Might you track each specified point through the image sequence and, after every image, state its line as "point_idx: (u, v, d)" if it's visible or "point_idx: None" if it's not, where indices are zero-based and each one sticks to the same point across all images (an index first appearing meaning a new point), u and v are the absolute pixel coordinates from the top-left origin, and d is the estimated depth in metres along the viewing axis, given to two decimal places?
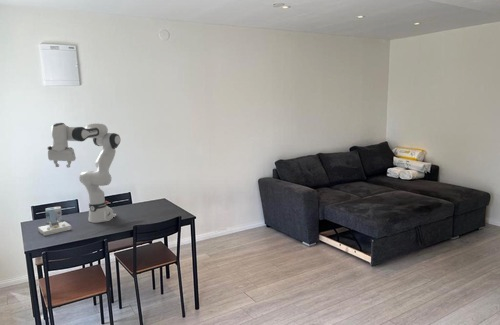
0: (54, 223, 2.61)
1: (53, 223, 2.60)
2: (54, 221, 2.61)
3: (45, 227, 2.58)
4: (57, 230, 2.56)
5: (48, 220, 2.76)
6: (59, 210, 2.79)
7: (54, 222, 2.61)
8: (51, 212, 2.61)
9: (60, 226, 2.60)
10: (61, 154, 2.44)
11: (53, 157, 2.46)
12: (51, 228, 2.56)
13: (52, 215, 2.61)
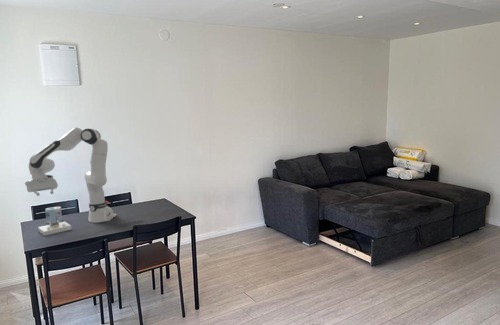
0: (54, 223, 2.61)
1: (53, 223, 2.60)
2: (54, 221, 2.61)
3: (45, 227, 2.58)
4: (57, 230, 2.56)
5: (48, 220, 2.76)
6: (59, 210, 2.79)
7: (54, 222, 2.61)
8: (51, 212, 2.61)
9: (60, 226, 2.60)
10: None
11: None
12: (51, 228, 2.56)
13: (52, 215, 2.61)
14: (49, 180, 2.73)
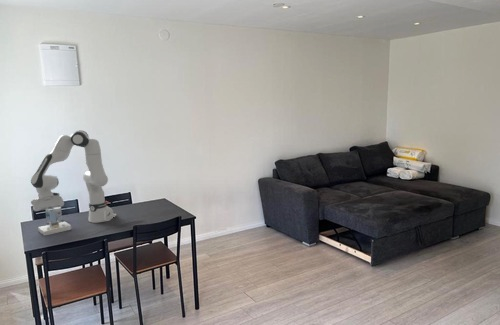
0: (54, 223, 2.61)
1: (53, 223, 2.60)
2: (54, 221, 2.61)
3: (45, 227, 2.58)
4: (57, 230, 2.56)
5: (48, 220, 2.76)
6: (59, 210, 2.79)
7: (54, 222, 2.61)
8: (51, 212, 2.61)
9: (60, 226, 2.60)
10: None
11: None
12: (51, 228, 2.56)
13: (52, 215, 2.61)
14: (56, 198, 2.70)
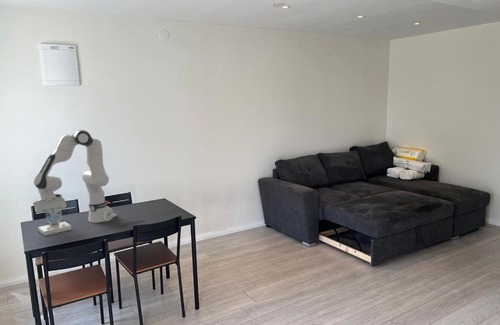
0: (54, 224, 2.61)
1: (53, 224, 2.60)
2: (55, 222, 2.60)
3: (45, 227, 2.58)
4: (57, 230, 2.56)
5: (48, 220, 2.76)
6: (59, 210, 2.79)
7: (54, 223, 2.60)
8: (54, 215, 2.57)
9: (60, 226, 2.60)
10: None
11: None
12: (51, 228, 2.56)
13: (54, 217, 2.58)
14: (58, 199, 2.66)
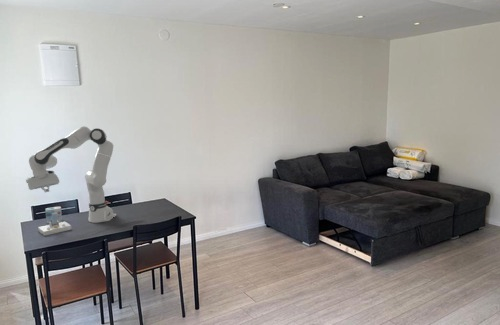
0: (54, 224, 2.61)
1: (53, 224, 2.60)
2: (55, 222, 2.60)
3: (45, 227, 2.58)
4: (57, 230, 2.56)
5: (48, 220, 2.76)
6: (59, 210, 2.79)
7: (54, 223, 2.60)
8: (54, 215, 2.57)
9: (60, 226, 2.60)
10: None
11: None
12: (51, 228, 2.56)
13: (54, 217, 2.58)
14: (51, 176, 2.68)
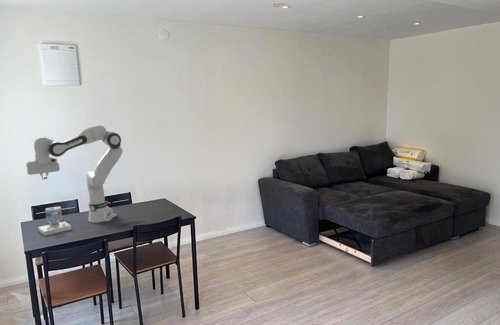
0: (54, 224, 2.61)
1: (53, 224, 2.60)
2: (55, 222, 2.60)
3: (45, 227, 2.58)
4: (57, 230, 2.56)
5: (48, 220, 2.76)
6: (59, 210, 2.79)
7: (54, 223, 2.60)
8: (54, 215, 2.57)
9: (60, 226, 2.60)
10: None
11: None
12: (51, 228, 2.56)
13: (54, 217, 2.58)
14: (52, 164, 2.60)
